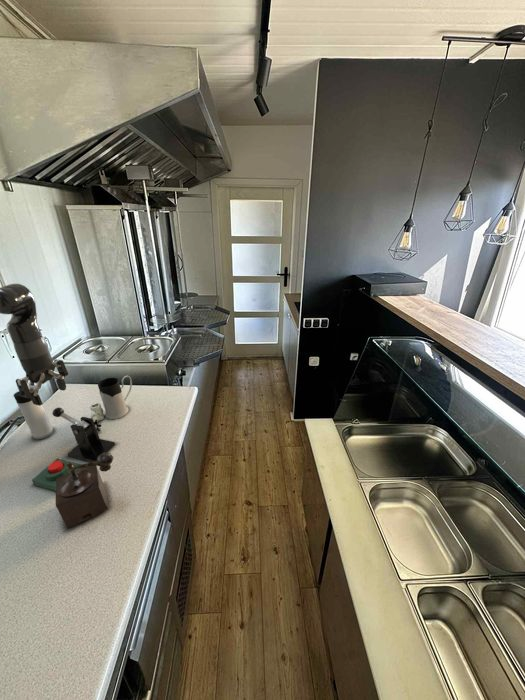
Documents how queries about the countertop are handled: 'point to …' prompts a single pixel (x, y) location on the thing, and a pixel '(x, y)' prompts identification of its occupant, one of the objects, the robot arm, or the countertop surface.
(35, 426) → the travel mug
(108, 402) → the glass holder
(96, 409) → the valve
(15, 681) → the countertop surface
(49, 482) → the button block
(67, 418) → the lever
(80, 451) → the bracket
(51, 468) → the button
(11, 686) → the countertop surface
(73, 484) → the brown coffee grinder
